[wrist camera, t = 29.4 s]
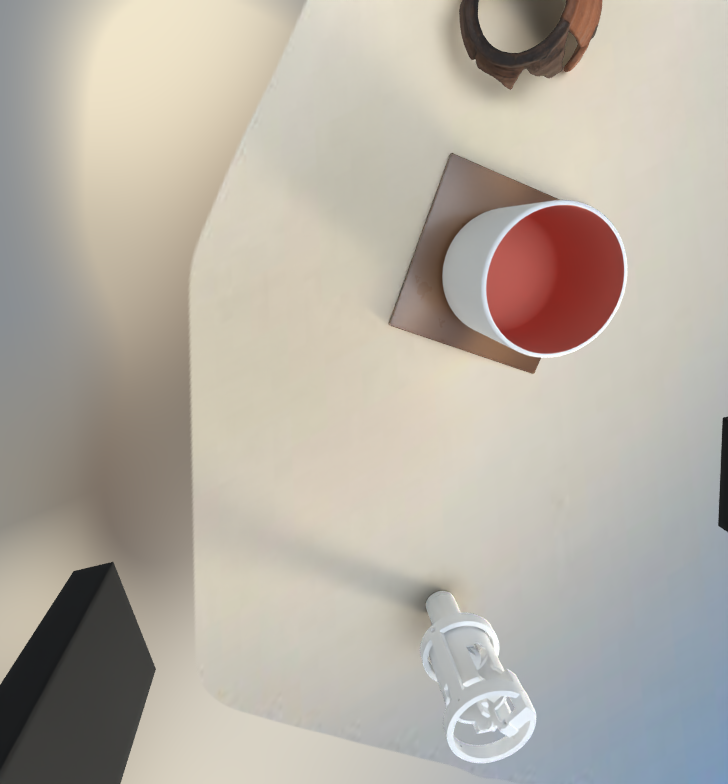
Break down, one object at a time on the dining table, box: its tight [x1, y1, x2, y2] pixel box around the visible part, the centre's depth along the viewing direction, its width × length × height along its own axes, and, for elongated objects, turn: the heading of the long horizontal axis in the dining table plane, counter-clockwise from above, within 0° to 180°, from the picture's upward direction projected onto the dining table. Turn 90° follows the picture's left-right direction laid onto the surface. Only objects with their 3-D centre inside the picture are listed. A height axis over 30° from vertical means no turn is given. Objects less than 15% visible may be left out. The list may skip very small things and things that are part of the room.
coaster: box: [389, 153, 559, 374], centre depth 43 cm, size 14×14×1 cm
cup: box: [442, 200, 627, 358], centre depth 38 cm, size 10×10×10 cm
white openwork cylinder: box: [420, 591, 536, 763], centre depth 45 cm, size 7×7×15 cm
